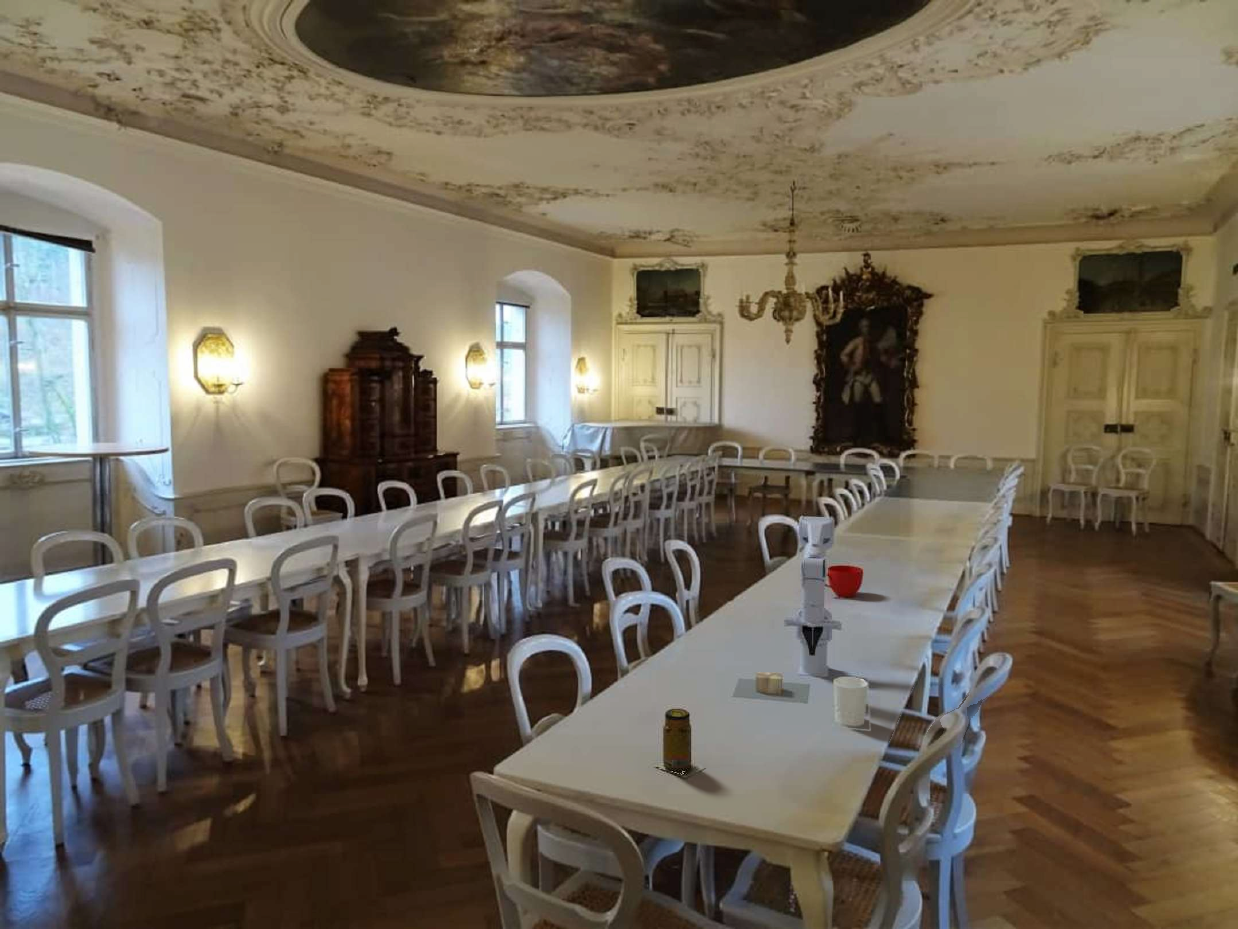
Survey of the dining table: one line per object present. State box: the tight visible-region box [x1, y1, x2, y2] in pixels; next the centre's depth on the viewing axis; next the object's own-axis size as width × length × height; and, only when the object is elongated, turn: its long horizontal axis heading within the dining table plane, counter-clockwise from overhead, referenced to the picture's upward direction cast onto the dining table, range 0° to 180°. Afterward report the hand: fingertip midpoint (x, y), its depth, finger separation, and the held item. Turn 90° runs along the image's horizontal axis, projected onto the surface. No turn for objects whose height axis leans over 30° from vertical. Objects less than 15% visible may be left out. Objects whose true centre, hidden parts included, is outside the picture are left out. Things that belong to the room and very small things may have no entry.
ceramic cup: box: [825, 564, 864, 598], centre depth 332 cm, size 13×17×10 cm
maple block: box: [755, 671, 783, 694], centre depth 233 cm, size 4×4×6 cm
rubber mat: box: [732, 677, 811, 704], centre depth 233 cm, size 14×19×1 cm
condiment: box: [653, 707, 707, 779], centre depth 188 cm, size 7×8×12 cm
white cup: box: [833, 676, 869, 727], centre depth 212 cm, size 8×8×10 cm
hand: (812, 654), depth 231 cm, fingers closed
